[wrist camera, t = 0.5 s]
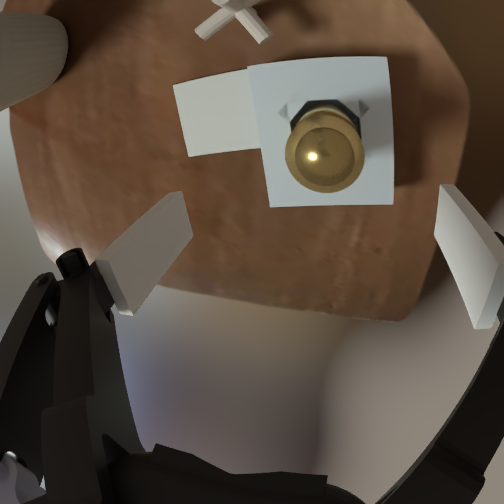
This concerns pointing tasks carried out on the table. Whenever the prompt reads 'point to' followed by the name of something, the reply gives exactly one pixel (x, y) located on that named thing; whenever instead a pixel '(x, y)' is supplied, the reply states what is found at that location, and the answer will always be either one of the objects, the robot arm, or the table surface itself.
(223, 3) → the pipe connector
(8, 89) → the canister
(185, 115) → the mat
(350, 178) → the gold metal cylinder
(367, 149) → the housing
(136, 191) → the table surface
